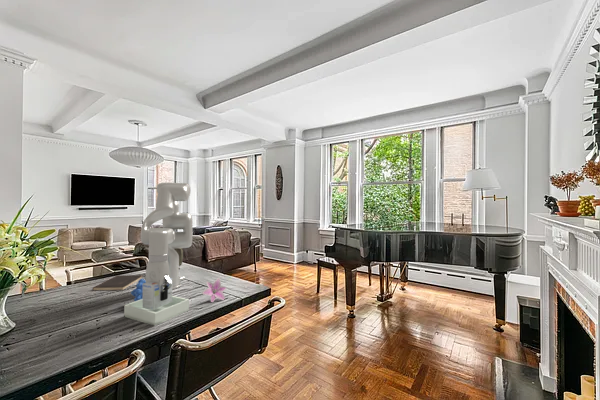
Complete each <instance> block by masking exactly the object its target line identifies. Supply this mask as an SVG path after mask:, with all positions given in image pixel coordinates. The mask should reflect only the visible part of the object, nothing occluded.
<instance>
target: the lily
mask: <svg viewBox="0 0 600 400" xmlns="http://www.w3.org/2000/svg"><path fill="white" fill-rule="evenodd" d="M206 285H207V287H208V288H206V289H205V290H203V291H202V293H201V294H202V295H205V296H210V303H211V302H213V303H214V302H215V300H216V299H220V300H222V301H225V300H226V297H225V294H224V292H225V291H226V290H227V287H226V286H221V285H222V283H221V278H220V277H217V279H215V281H213V283H212V282H209V281H206ZM224 299H225V300H224Z"/></svg>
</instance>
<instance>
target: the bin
mask: <svg viewBox="0 0 600 400" xmlns="http://www.w3.org/2000/svg"><path fill="white" fill-rule="evenodd" d="M123 306H124V309H123V310H124V315H123V316H124V318H127V319H131V320H134V321H137V322H140V323H143V324H146V325H151V326H155V327H156V326H158V325H161V324H163V323H164V322H167V321H169V320H171V319H173V318H176V317H178V316H180V315H182V314H185V313H186V312H188V311H190V299H189V298H184V297H180V296H174V295H172V302H170V303H168V304H166V305H164V306H161V307H159V308H157V309H155V310H150V309H145V308H143V299H141V300H138V301H133V302H129V303H127V304H124V305H123Z"/></svg>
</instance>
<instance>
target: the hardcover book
mask: <svg viewBox="0 0 600 400" xmlns="http://www.w3.org/2000/svg"><path fill="white" fill-rule="evenodd" d="M143 276H144V275H143V274H141V275H140V274H138V275H137V274H135V275H131V274H129V275H125V274H123V275H116V276H114V277H111V278H109V279H108V280H105V281H103V282H101V283H99V284H98V285H94V286H93V287H92V291H122V290H125V289H127V288H128V287H129V286H131V285H133V284H135V283H136V282H138V281H139V280H140V279H143Z"/></svg>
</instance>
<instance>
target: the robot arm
mask: <svg viewBox="0 0 600 400" xmlns="http://www.w3.org/2000/svg"><path fill="white" fill-rule="evenodd" d="M156 192H157V195H156V196H157V197H156V203H155V209H154V210H153V211H151V212H150V213H149V214H148V215H147V216H146V217H145V218H144V220H143V221H142V224H141V230H140V242H141V243H142V244H143V245H148V261H147V265H146V269H145V277H144V280H145V281H146V283H147V282H152V283H157V284H158V286H161V290H162V291H161V295H160V300H161V301H163V300H166V299H167V298H168V290H169V288H170V286H171V285H172V290H176V289H178V288H181V287H182V281H184V280H186V277H185V276H179V275H180V272H179V271H180V270H179V268H180V266H179V255H178V253H177V252H176V251H175V250H174V249H175V248H182V249H187V248H190V247H192V244H193V216H192V215H191V213H188V212H180V205H179V202H186V201H188V199H189V198H190V194H191V186H190V184H188V183H185V182H160V183H157V185H156ZM161 220H162V221H161ZM159 221H161V222H162V227H158V228H157V227H154V228H153V227H151V226H152V225H153V224H154V223H157V222H159ZM174 230H183V231H174ZM169 278H172V279H173V281H172V282H171V280H170V279H169ZM164 282H165V283H164ZM163 283H164V284H163ZM163 285H165V287H163Z"/></svg>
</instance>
